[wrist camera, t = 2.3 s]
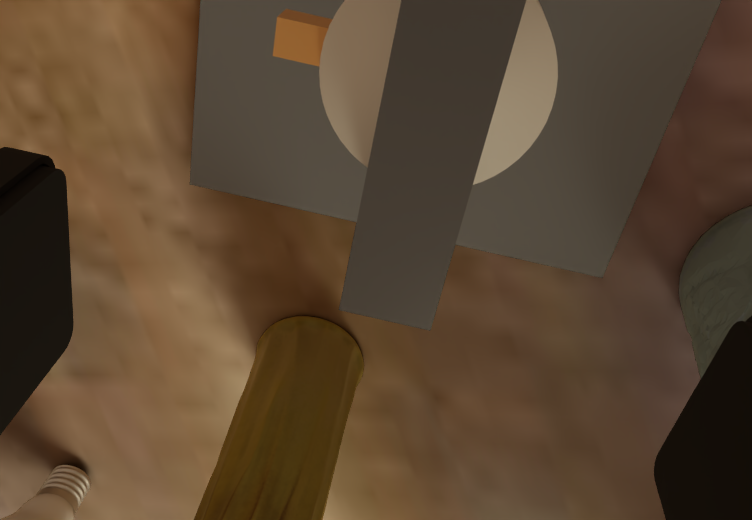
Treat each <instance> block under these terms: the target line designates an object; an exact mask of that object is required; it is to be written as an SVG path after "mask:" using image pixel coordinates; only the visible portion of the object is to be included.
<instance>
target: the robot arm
mask: <svg viewBox="0 0 752 520" xmlns="http://www.w3.org/2000/svg"><path fill="white" fill-rule="evenodd" d="M72 331H73V307H72V287H71V267H70V246H69V226H68V206H67V186H66V177H65V174H64V172H63V171H62V170H60V169H55V165H54V163H53V161H52V159H51V158H50V157H49V156H45V155H41V154H36V153H32V152H27V151H23V150H18V149H14V148H8V147H3V148H1V149H0V435H1V433H2V432H3V431H4V429H5V428H6V427H7V426H8V424H9V423H10V422H11V420H12V419H13V418H14V416H15V415H16V414H17V412H18V411H19V410H20V408H21V407H22V406H23V405H24V403H25V402H26V401H27V399H28V398H29V397H30V395H31V394H32V393H33V391H34V390H35V389H36V388H37V386H38V385H39V384H40V382H41V381H42V380H43V378H44V377H45V376H46V374H47V373H48V372H49V371H50V369H51V368H52V367H53V365H54V364H55V363H56V361H57V360H58V359H59V357H60V356H61V355H62V354H63V352H64V351H65V349H66V348H67V346H68V344H69V342H70V339H71V336H72ZM654 477H655V482H656V486H657V489H658V493H659V497H660V500H661V504H662V507H663V511H664V514H665V518H666V520H752V316H751V317H749V318H748V319H747V320H746V321H738V322H736V323H735V324H733V326H732V327H731V328H730V330H729V332H728V333H727V335H726V337H725V338H724V340H723V342H722V344H721V345H720V347H719V349H718V351H717V352H716V354H715V356H714V357H713V359H712V361H711V363H710V364H709V366H708V368H707V370H706V371H705V373H704V375H703V376H702V378H701V380H700V382H699V383H698V385H697V387H696V389H695V390H694V392H693V394H692V395H691V397H690V399H689V401H688V402H687V404H686V406H685V408H684V409H683V411H682V413H681V414H680V416H679V418H678V420H677V421H676V423H675V425H674V427H673V428H672V430H671V432H670V433H669V435H668V437H667V439H666V440H665V442H664V444H663V445H662V447H661V449H660V451H659V453H658V455H657V457H656V461H655V466H654Z"/></svg>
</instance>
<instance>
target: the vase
mask: <svg viewBox="0 0 752 520" xmlns="http://www.w3.org/2000/svg"><path fill="white" fill-rule="evenodd" d="M363 370H364V361H363V357H362V354H361V351H360V349H359V347H358V345H357V343H356V342H355V340H354V339H353V338H352V337H351V336H350V335H349V334H348V333H347V332H346V331H345V330H343V329H342V328H341V327H339V326H338V325H336V324H334V323H332V322H330V321H327V320H324V319H321V318H316V317H310V316H296V317H290V318H286V319H283V320H280V321H278V322H276V323H274V324H273V325H272V326H270V327H269V328H268V329H267V330H266V331H265V332H264V334H263V335H262V336H261V338H260V340H259V342H258V344H257V350H256V357H255V361H254V364H253V367H252V369H251V372H250V375H249V378H248V381H247V384H246V386H245V389H244V391H243V394H242V396H241V398H240V401H239V403H238V406H237V408H236V411H235V414H234V417H233V420H232V422H231V425H230V428H229V430H228V433H227V436H226V438H225V441H224V444H223V447H222V450H221V453H220V455H219V459H218V462H217V465H216V467H215V469H214V472H213V474H212V476H211V478H210V481H209V483H208V485H207V488H206V490H205V493H204V495H203V498H202V500H201V503H200V506H199V508H198V511H197V513H196V516H195V518H194V520H322V519H323V515H324V511H325V507H326V503H327V498H328V494H329V490H330V486H331V482H332V478H333V474H334V470H335V466H336V462H337V458H338V454H339V449H340V445H341V441H342V437H343V433H344V429H345V425H346V421H347V418H348V414H349V411H350V408H351V405H352V401H353V397H354V393H355V390H356V387H357V385H358V383H359V381H360V380H361V377H362V374H363Z"/></svg>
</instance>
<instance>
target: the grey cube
mask: <svg viewBox="0 0 752 520" xmlns="http://www.w3.org/2000/svg"><path fill="white" fill-rule="evenodd" d="M273 56H275V57H279V58H284V59H288V60H292V61H297V62H301V63H306V64H310V65H315V66H319V78H320V90H321V96H322V101H323V104H324V108H325V111H326V114H327V116H328V119H329V121H330V123H331V125H332V127H333V129H334V131H335V132H336V134H337V136H338V137H339V139H340V141H341V142H342V143H343V144H344V146H345V147H346V148H347V149H348V150H349V152H350V153H351V154H352V155H353V156H354V157H355V158H356V159H357V160H359V161H360V162H361V163H362V164H363V165H365V166H366V167H367V173H366V178H365V183H364V188H363V193H362V198H361V203H360V208H359V213H358V218H357V223H356V228H355V233H354V237H353V242H352V247H351V252H350V257H349V262H348V267H347V272H346V277H345V282H344V287H343V292H342V297H341V302H340V307H339V310H341V311H346V312H350V313H355V314H359V315H363V316H368V317H372V318H377V319H381V320H385V321H390V322H394V323H399V324H403V325H407V326H412V327H416V328H420V329H425V330H429V331H430V330H431V327H432V323H433V320H434V316H435V313H436V309H437V306H438V303H439V299H440V296H441V292H442V289H443V285H444V282H445V278H446V275H447V272H448V268H449V265H450V261H451V258H452V254H453V251H454V247H455V244H456V241H457V237H458V234H459V230H460V227H461V223H462V220H463V217H464V213H465V210H466V206H467V203H468V199H469V196H470V192H471V189H472V186H473V185H474V184H477V183H480V182H483V181H485V180H487V179H489V178H491V177H494V176H496V175H497V174H499V173H500V172H502V171H504V170H505V169H507V168H508V167H510V166H511V165H512V164H513V163H514V162H516V161H517V160H518V159H519V158H520V157H521V156H522V155H523V154H524V153H525V152H526V151H527V150H528V149H529V148H530V147H531V145H532V144H533V143H534V141H535V140H536V139H537V137H538V136H539V134H540V133H541V131H542V129H543V127H544V126H545V124H546V122H547V119H548V117H549V114H550V112H551V110H552V106H553V102H554V99H555V95H556V88H557V80H558V61H557V54H556V48H555V44H554V40H553V37H552V33H551V30H550V28H549V25H548V22H547V20H546V17H545V15H544V12H543V10H542V7H541V5H540V3H539V1H538V0H345V1H344V2H343V3H342V5H341V6H340V8H339V9H338V11H337V12H336V14H335V16H334V18H333V19H329V18H325V17H320V16H316V15H311V14H307V13H303V12H298V11H294V10H289V9H285V10H284V11H283V12H282V13H281V14H280V15H279V16H278V17H277V23H276V31H275V40H274V49H273Z"/></svg>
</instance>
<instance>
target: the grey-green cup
mask: <svg viewBox="0 0 752 520" xmlns="http://www.w3.org/2000/svg"><path fill="white" fill-rule="evenodd" d="M679 298H680V305H681V309H682V312H683V316H684V320H685V324H686V328H687V331H688V332H689V334H690V336H691V338H692V346H693V350H694V355H695V360H696V362H697V366H698V370H699V374H700V377H701V378H702V376H703V375H704V373H705V371H706V370H707V368H708V366H709V364H710V363H711V361H712V359H713V357H714V356H715V354H716V352H717V351H718V349H719V347H720V345H721V344H722V342H723V340H724V338H725V337H726V335H727V333H728V332H729V330H730V328H731V327H732V326H733V324H735V323H736V322H738V321H746V320H747V319H748V318H749V317H751V316H752V206H749V207H747V208H744V209H741V210H739V211H737V212H735V213H733V214H731V215H729V216H727V217H726V218H724V219H723V220H721V221H720V222H718V223H717V224H715V225H714V226H712V227H711V228H710V229H709V230H708V231H707V232H705V233H704V235H703V236H702V237H701V238H700V239H699V240H698V241H697V243H696V244H695V245H694V247H693V248H692V249H691V251H690V252H689V254H688V256H687V258H686V260H685V263H684V265H683V268H682V271H681V274H680V281H679Z"/></svg>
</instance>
